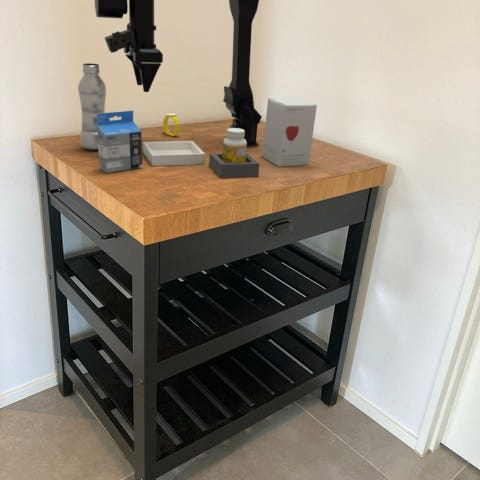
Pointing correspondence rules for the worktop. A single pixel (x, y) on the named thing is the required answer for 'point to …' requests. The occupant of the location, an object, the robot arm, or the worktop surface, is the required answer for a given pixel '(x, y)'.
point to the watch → (177, 125)
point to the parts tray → (173, 153)
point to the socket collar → (233, 167)
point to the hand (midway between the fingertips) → (142, 88)
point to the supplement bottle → (234, 146)
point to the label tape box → (118, 142)
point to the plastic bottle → (91, 104)
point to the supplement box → (288, 131)
